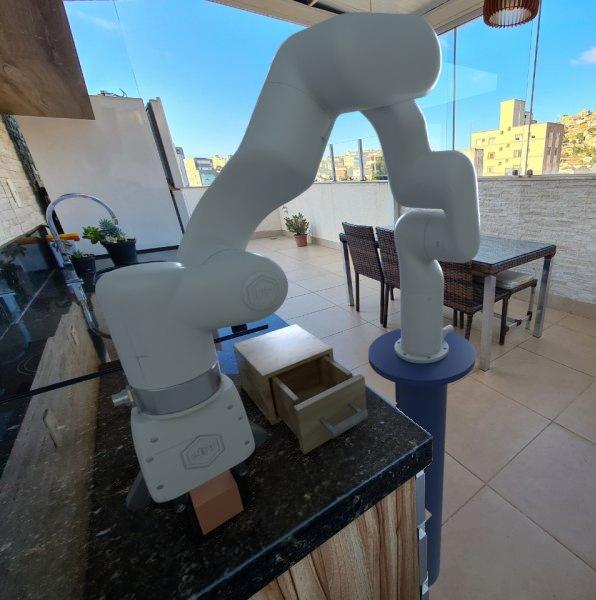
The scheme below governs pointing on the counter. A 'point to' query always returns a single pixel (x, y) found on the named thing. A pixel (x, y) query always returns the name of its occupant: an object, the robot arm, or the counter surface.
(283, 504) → the counter surface
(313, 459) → the counter surface
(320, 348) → the cabinet
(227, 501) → the block
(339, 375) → the drawer
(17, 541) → the counter surface
